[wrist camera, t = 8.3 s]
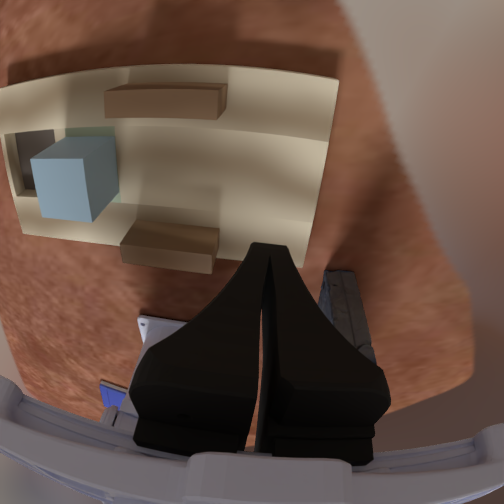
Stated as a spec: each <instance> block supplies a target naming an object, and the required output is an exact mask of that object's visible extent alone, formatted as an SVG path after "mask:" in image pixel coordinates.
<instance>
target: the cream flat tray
mask: <svg viewBox="0 0 504 504" xmlns="http://www.w3.org/2000/svg"><path fill="white" fill-rule="evenodd" d="M338 85H339V80H337V79H335V78H331V77H326V76H320V75H314V74H308V73H301V72H294V71H287V70H279V69H270V68H260V67H248V66H234V65H214V64H155V65H135V66H122V67H111V68H101V69H93V70H85V71H78V72H71V73H65V74H59V75H53V76H48V77H43V78H38V79H33V80H28V81H24V82H20V83H16V84H11V85H8V86H5V87H2V88H0V137H1V143H2V149H3V154H4V160H5V165H6V170H7V174H8V179H9V183H10V187H11V192H12V196H13V199H14V203H15V207H16V211H17V214H18V218H19V221H20V225H21V228H22V231H23V234H30V235H38V236H45V237H53V238H61V239H68V240H76V241H84V242H92V243H100V244H107V245H115V246H120V250H121V255H122V261H123V263H129V264H136V265H143V266H150V267H158V268H165V269H173V270H181V271H188V272H196V273H204V274H212V271H213V267H214V264H215V260H216V258H223V259H231V260H240V261H243V260H244V258H245V256H246V254H247V252H248V250H249V247H250V244H251V243H253V242H260V243H269V244H277V245H286V246H287V247H288V248H289V251H290V254H291V257H292V259H293V262H294V264H295V266H296V267H301V268H303V263H304V259H305V255H306V250H307V246H308V241H309V237H310V232H311V228H312V223H313V219H314V214H315V209H316V205H317V200H318V195H319V190H320V185H321V180H322V175H323V170H324V165H325V160H326V154H327V149H328V144H329V138H330V133H331V127H332V121H333V116H334V110H335V104H336V98H337V91H338ZM83 136H115V149H116V163H117V175H118V186H119V193H118V194H117V195H116V196H115V197H114V199H113V200H112V201H111V202H110V203H109V204H108V205H107V206H106V208H105V209H104V210H103V211H102V212H101V213H100V214H99V216H98V217H97V218H96V219H95V220H94V221H93V223H89V222H80V221H71V220H62V219H53V218H44V217H42V214H41V210H40V206H39V201H38V197H37V192H36V188H35V183H34V178H33V172H32V167H31V161H30V159H31V158H32V157H34V156H35V155H37V154H39V153H40V152H42V151H43V150H45V149H46V148H48V147H50V146H51V145H53V144H54V143H56V142H58V141H59V140H61V139H63V138H64V137H83Z"/></svg>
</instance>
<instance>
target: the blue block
mask: <svg viewBox="0 0 504 504" xmlns="http://www.w3.org/2000/svg"><path fill="white" fill-rule="evenodd" d="M30 161H31V167H32V172H33V178H34V183H35V188H36V192H37V197H38V201H39V206H40V210H41V214H42V217H44V218H53V219H62V220H71V221H80V222H89V223H93V221H94V220H95V219H96V218H97V217H98V216H99V214H100V213H101V212H102V211H103V210H104V209H105V208H106V206H107V205H108V204H109V203H110V202H111V201H112V200H113V199H114V197H115V196H116V195H117V194H118V193H119V186H118V175H117V163H116V149H115V136H83V137H64V138H63V139H61V140H59V141H58V142H56V143H54V144H53V145H51V146H50V147H48V148H46V149H45V150H43V151H42V152H40V153H39V154H37V155H35V156H34V157H32V158H31V159H30Z"/></svg>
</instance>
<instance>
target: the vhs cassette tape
mask: <svg viewBox="0 0 504 504" xmlns="http://www.w3.org/2000/svg"><path fill="white" fill-rule="evenodd" d="M318 306H319V308H320V309H321V310H322V312H323V313H324V314H325V316H326V317H327V318H328V320H329V321H330V322H331V323H332V324H333V326H334V327H335V328H336V329H337V330H338V331H339V332H340V333H341V334H342V335H343V336H344V337H345V338H346V339H347V340H348V341H349V342H350V343H351V344H352V345H353V346H354V347H355V348H356V349H357V350H358V351H359V352H361V353H362V354H363V355H364V356H365V357H367V358H368V359H369V360H371V361H372V362H373V363H375V364H376V358H375V354H374V350H373V347H371V336H370V333H369V328H368V325H367V320H366V316H365V312H364V309H363V304H362V300H361V297H360V292H359V289H358V286H357V281H356V278H355V274H354V272H349V271H340V270H337V271H334V272H333V271H330V272H329V271H327V270H325V271H324V277H323V283H322V286H321V292H320V297H319V302H318ZM376 365H377V364H376Z"/></svg>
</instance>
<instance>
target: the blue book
mask: <svg viewBox="0 0 504 504" xmlns="http://www.w3.org/2000/svg"><path fill="white" fill-rule="evenodd" d="M100 391H101V395H102V399H103V404H104V406H105V407H111V406H112V405H115V406H117V407H118V411H119V410H120V406H121V403H122V400H123V399H124V398H125V396H126V393H127V389H124V388H121V387H118V386H115V385H112V384H109V383H107V382H104V381H101V383H100Z"/></svg>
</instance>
